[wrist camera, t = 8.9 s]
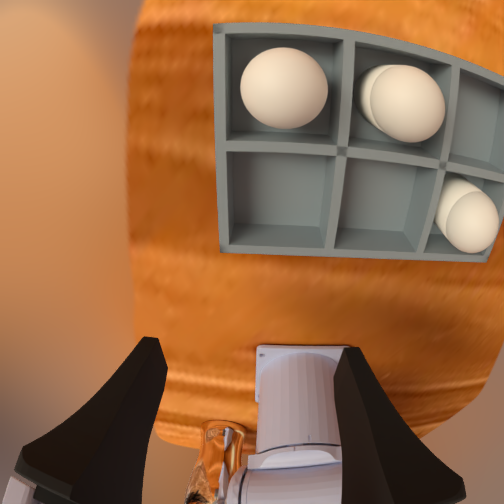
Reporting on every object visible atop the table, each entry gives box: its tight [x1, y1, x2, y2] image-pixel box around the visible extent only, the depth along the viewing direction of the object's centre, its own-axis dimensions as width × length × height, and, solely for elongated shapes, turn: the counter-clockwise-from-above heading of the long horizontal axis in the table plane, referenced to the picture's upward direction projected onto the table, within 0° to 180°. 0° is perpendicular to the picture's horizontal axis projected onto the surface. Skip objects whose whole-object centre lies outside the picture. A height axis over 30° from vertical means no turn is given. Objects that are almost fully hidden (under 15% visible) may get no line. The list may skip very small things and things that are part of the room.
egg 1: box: [240, 47, 328, 129], centre depth 12 cm, size 4×4×5 cm
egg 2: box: [354, 65, 445, 142], centre depth 12 cm, size 4×4×5 cm
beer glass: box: [184, 420, 247, 504], centre depth 29 cm, size 7×7×15 cm
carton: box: [213, 23, 504, 262], centre depth 14 cm, size 12×17×3 cm
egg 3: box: [433, 173, 499, 253], centre depth 14 cm, size 4×4×5 cm
